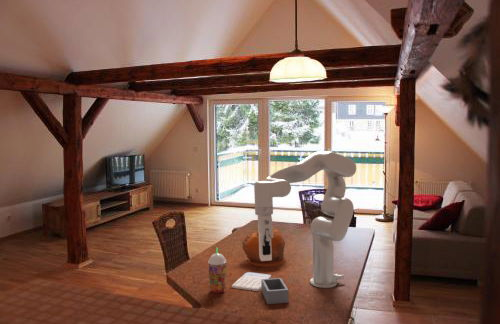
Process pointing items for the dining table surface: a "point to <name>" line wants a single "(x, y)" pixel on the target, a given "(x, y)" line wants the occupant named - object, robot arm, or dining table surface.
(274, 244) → the pumpkin
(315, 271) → the robot arm
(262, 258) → the post
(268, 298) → the grey open box
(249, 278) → the calculator
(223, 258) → the smoothie
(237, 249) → the dining table surface
